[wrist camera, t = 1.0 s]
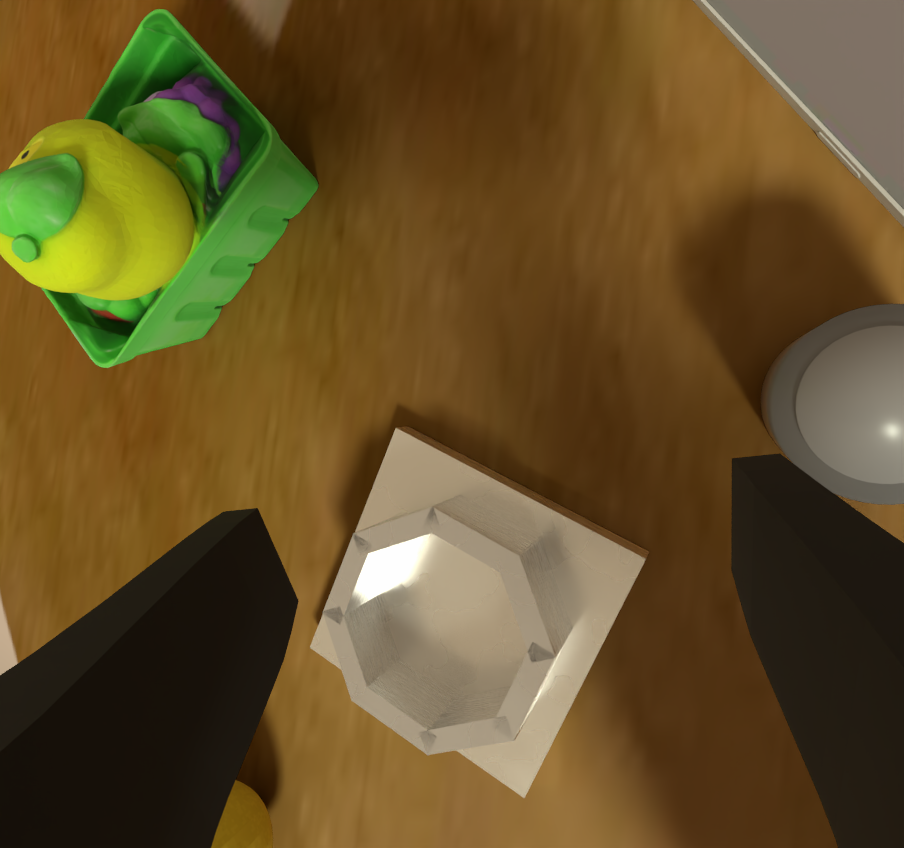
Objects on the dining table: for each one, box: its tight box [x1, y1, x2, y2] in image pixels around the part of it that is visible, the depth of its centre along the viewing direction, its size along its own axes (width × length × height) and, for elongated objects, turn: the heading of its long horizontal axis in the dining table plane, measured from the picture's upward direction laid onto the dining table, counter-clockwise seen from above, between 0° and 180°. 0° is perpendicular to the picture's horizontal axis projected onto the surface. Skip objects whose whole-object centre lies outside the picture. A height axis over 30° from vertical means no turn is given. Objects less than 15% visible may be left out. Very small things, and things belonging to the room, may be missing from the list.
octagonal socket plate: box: [310, 426, 649, 798], centre depth 23 cm, size 10×10×4 cm
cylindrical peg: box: [761, 304, 904, 505], centre depth 17 cm, size 5×5×5 cm
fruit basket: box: [0, 9, 319, 368], centre depth 23 cm, size 11×9×11 cm
